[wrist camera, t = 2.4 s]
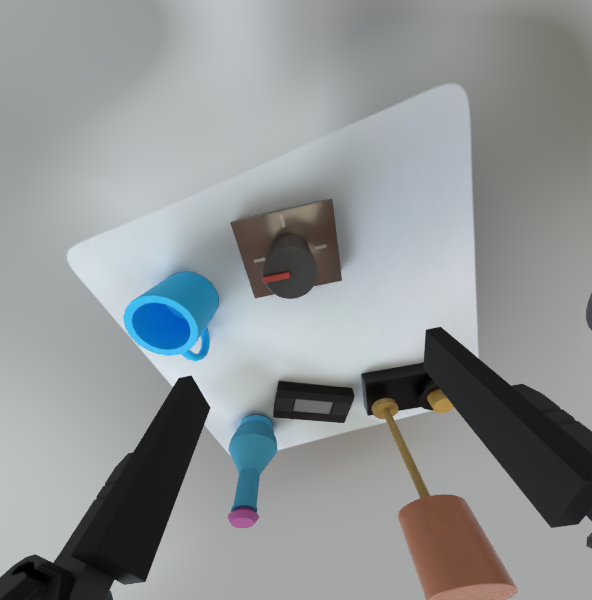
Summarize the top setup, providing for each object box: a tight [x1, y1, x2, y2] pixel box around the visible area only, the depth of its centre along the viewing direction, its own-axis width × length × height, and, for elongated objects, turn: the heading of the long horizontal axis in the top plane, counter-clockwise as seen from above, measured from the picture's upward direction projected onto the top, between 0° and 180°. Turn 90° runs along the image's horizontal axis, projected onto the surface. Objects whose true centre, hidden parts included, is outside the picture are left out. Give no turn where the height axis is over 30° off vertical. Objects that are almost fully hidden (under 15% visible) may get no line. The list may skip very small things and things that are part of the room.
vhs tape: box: [273, 382, 355, 423], centre depth 41 cm, size 8×14×2 cm, turn 81°
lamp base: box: [361, 363, 440, 416], centre depth 39 cm, size 16×9×4 cm, turn 102°
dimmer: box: [262, 233, 318, 299], centre depth 23 cm, size 5×5×8 cm
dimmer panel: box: [231, 199, 342, 298], centre depth 28 cm, size 12×10×3 cm
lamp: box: [372, 398, 517, 600], centre depth 29 cm, size 8×8×20 cm
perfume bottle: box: [228, 415, 277, 528], centre depth 38 cm, size 9×9×15 cm
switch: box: [427, 389, 454, 413], centre depth 36 cm, size 4×4×2 cm
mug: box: [124, 272, 219, 361], centre depth 29 cm, size 12×8×8 cm
